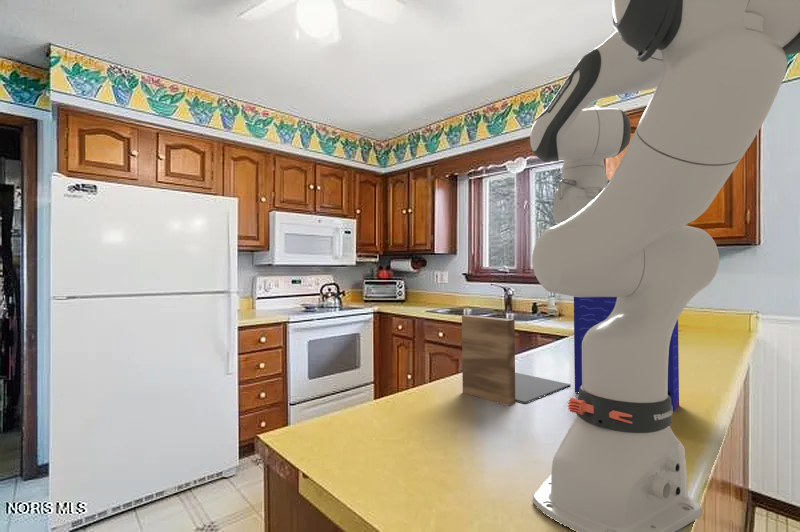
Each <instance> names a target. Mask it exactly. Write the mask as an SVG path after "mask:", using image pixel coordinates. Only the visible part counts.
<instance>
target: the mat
mask: <svg viewBox="0 0 800 532" xmlns="http://www.w3.org/2000/svg"><path fill="white" fill-rule="evenodd" d="M568 386H570V387H571V384H570V383H566V382H561V381H558V380H552V379H548V378H544V377H537V376H533V375H528V374H524V373H519V372H515V402H517V401H518V403H520V402H522V403H521V404H524V403H526V404H528V403H530V402H529V401H531V402H533V401H532V400H534V399H536V400H538V399H537V398H539V397H541V398H543V397H542V396H544V395H546V396H548V395H547V394H549V393H552V392H554V393H556V392H555V391H557V392H559V391H561V390H560V389H562V390H564V389H563V388H565V387H567V388H569V387H568ZM565 389H566V388H565ZM558 390H559V391H558ZM552 394H553V393H552ZM549 395H550V394H549ZM544 397H545V396H544ZM539 399H540V398H539ZM534 401H535V400H534ZM527 402H528V403H527Z"/></svg>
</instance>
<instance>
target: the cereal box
mask: <svg viewBox="0 0 800 532" xmlns="http://www.w3.org/2000/svg"><path fill="white" fill-rule="evenodd" d="M616 300H617V297H574V296H573V342H574V343H573V350H574V352H573V353H574V354H573V357H574V360H573V361H574V393H575V392H579V389H580V386H581V385H582V341H583V338H584V336H585V334H586V333H587V331H588V330H589V329H590V328H592V327H593V326H595V325H596V324H598V323H600V322H602V321H604V320H605V319H606V318H608V316H609V315H610V314H611V312H612V311H613V309H614V307H615V304H616ZM679 357H680V356H679V319H678V320H677V322H676V324H675V327H674V329H673V332H672V336H671V339H670V345H669V356H668V395H669V396H670V398H671V405H672V408H673V413H674V412H675V411H676V410H677V409H678V407H679V406H680V369H679V367H680V366H679V364H680V363H679V361H680V360H679Z"/></svg>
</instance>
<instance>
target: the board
mask: <svg viewBox="0 0 800 532" xmlns="http://www.w3.org/2000/svg"><path fill="white" fill-rule="evenodd" d="M515 325H516V324H515V319H511V318H503V317H502V318H501V317H494V316H493V317H492V316H484V315H483V316H482V315H471V314H469V315H461V355H462V356H461V357H462V359H461V360H462V361H461V362H462V364H461V365H462V369H461V370H462V371H461V374H462V393H463V394H466V395H470V396H474V397H477V398H481V399H484V400H488V401H492V402H493V403H497V402H498V404H502V405H504V406H511V405H514V404H516V401H515V373H516V344H515V343H516V341H515V338H516V337H515V335H516V334H515V329H516V326H515ZM513 403H514V404H513ZM510 404H511V405H510Z"/></svg>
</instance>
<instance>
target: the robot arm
mask: <svg viewBox="0 0 800 532" xmlns="http://www.w3.org/2000/svg"><path fill="white" fill-rule="evenodd" d="M612 26H613V27H614V29H615V31H614V32H613V33H612V34H610V36H609V37H608V38H606V40H605V41H604V42H602V43H601V44H600V45H598V46H597V47H595V48H594V49H593V50H591V51H589V52H587V53H585V54H584V56H582V57H581V58H580V60H579V61H578V62H577V63H576V65H575V66H574V68H572V71H571V72H570V73H569V75H568V76H567V78H566V79H565V80H564V82H563V83H562V84H561V87H560V88H559V90H558V91H557V92H556V94H555V95H554V97H553V98H552V100H551V101H550V103H549V104H548V105H547V107H546V108H545V109H544V110H543V111H542V112H540V114H539V115H538V116H536V118H535V120H534V121H533V124H532V128H531V131H530V135H529V137H530V139H529V143H530V146H529V147H530V149H531V152H532V153H533V154H534V155H535V156H536V157H537V159H539V160H541V161H542V162H544V163H551V162H552V163H553V162H559V161H563V163H562V164H563V165H562V169H561V180H560V181H559V183H558V184H557V189H556V190H555V193H554V199H553V209H552V211H553V212H552V215H553V217H552V218H553V220H554V222H555V223H556V225H554V226H552V227H548V228H547V229H546V230H544V232H542V234H541V235H540V237H538V239H537V241H536V243H535V245H534V247H533V252H532V256H531V264H532V269H533V273H534V275H535V278H536V279H537V282H538V283H539V284H540V285H541V286H542V288H544V290H545V291H547V292H549V293H555V294H558V295H562V296H569V297H573V298H574V297H617V300H616V304H615V307H614V309H613V311H612V312H611V314H610V315H609V316H608V318H606V319H605V320H604V321H602V322H600V323H598V324H596V325H595V326H593V327H592V328H590V329H589V330H588V331H587V333H586V334H585V336H584V338H583V341H582V385H581V386H580V389H579V393H577V396H576V397H570V398H569V401H568V402H567V403H568V405H567V407H568V408H567V409H568V410H569V411H568V412H571V413H575V414H576V415H575V416H576V417H575V418H574V420H573V422H572V424H571V425H570V426H569V429H568V430H567V432H566V434H565V436H564V437H563V440H562V441H561V443H560V445H559V447H558V448H557V451H556V452H555V454H554V456H553V459H552V464H551V471H550V472H551V473H550V474H549V476H548V477H547V478H546V479H545V480H544V481H543V483H542V484H541V485H540V486H539V487H538V488H537V490H536V491H535V492H534V494H533V495H532V504H533V503H534V504H535V505H536V506H537V507H538V508H539V509H540V510H541V511H542V512H544V513H545V514H547V515H549V516H550V517H552V518H553V519H555V520H557V521H559V522H560V523H562V524H563V525H566V526H568V527H570V528H572V529H574V530H575V531H578V532H677V531H679V530H680V529H682V528H684V527H685V526H688V525H689V524H691V523H692V522H694V521H696V520H698V519H699V518H701V517H702V516H703V512H702V506H701V504H700V503H698V502H697V501H695V500H694V499H693V498H691V497H690V496H689V489H688V487H689V486H688V475H687V474H688V473H687V462H686V449H685V447H684V445H683V443H682V442H681V441H680V440H679V439H678V437H677V436H676V435H675V433H674V432H673V430H672V427H671V425H672V423H673V413H674V412H673V408H672V405H671V398H670V396H669V395H668V356H669V345H670V339H671V336H672V332H673V329H674V327H675V324H676V322H677V320H678V321H679V317H680V316H681V315H682V312H683V311H684V309H685V308H686V307H687V305H688V303H689V302H690V301H691V300H692V299H693V298H694V297H695V296H696V295H697V294H698V293H699V292H701V291H702V290H704V289H705V288H706V287H708V286H709V285H710V284H711V283H712V281H713V280H714V278H715V277H716V275H717V273H718V269H719V266H720V254H719V253H720V252H719V250H718V246H717V244H716V241H715V240H714V239H713V237H712V236H711V235H710V234H709V233H708V232H707V231H706V230H704V229H702V228H700V227H695V226H689V225H688V224H689V223H692V222H694V221H695V220H697V219H698V218H700V216H702V215H703V214H705V212H706V211H707V210H708V209H709V207H710V205H711V204H712V203H713V201H714V200H715V199H716V197H717V195H718V194H719V192H720V191H721V189H722V188H723V186H724V185H725V183H726V182H727V181H728V179H729V178H730V176H731V174H732V173H733V172H734V171H735V169H736V167H737V166H738V165H739V163H740V161H741V159H742V158H743V157H744V155H745V154H746V153H747V150H748V149H749V148H750V146H751V144H752V143H753V141H754V139H755V138H756V136H757V135H758V132H759V131H760V130H761V127H762V126H763V124H764V122H765V119H767V116H768V114H769V112H770V110H771V108H772V106H773V103H774V102H775V99H776V97H777V95H778V93H779V91H780V88H781V85H782V83H783V80H784V78H785V75H786V72H787V70H788V69H787V68H788V61H787V60H788V58H787V56H790V55H795V54H800V0H612ZM651 89H655V91H654V93H653V94H652V96H651V98H650V100H649V102H648V104H647V106H646V108H645V110H644V112H643V114H642V116H641V118H640V120H639V122H638V124H637V126H636V129H635V131H634V133H633V135H631V132H632V127H631V120H630V118H629V117H628V115H627V113H625V111H623V110H622V109H620V108H613V107H612V108H611V107H606V108H605V107H604V108H602V107H600V106H598V105H595V104H592V103H595V102H598V101H600V100H603V99H606V98H607V99H608V98H610V97H614V96H615V97H616V96H620V95H625V94H630V93H636V92H642V91H647V90H651ZM631 136H632V137H631ZM625 149H626V150H625ZM624 150H625V152H624V154H623V156H622V157H621V160H620V162H619V164H618V166H617V168H616V170H615V172H614V174H613V175H612V177H611V179H609V177H608V175H607V174H606V165H605V159H609V158H614V157H617V156H619V155H620V154H621V153H622V152H623V151H624ZM534 504H533V505H534ZM535 505H534V506H535ZM536 506H535V507H536ZM537 507H536V508H537ZM538 508H537V509H538ZM539 509H538V510H539ZM540 510H539V511H540ZM541 511H540V512H541ZM542 512H541V513H542ZM545 514H544V515H545Z"/></svg>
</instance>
